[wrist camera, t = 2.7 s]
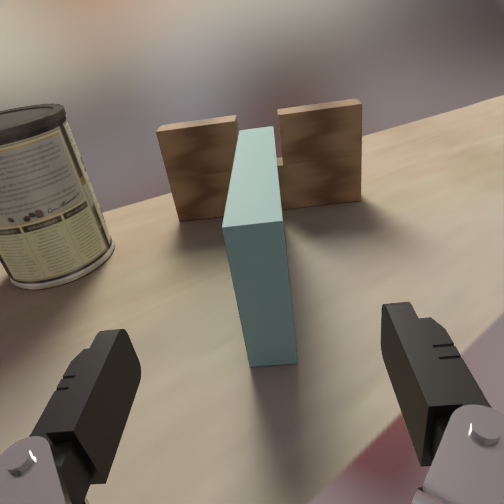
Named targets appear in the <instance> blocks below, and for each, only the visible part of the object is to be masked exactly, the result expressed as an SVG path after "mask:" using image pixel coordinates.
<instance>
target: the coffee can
mask: <svg viewBox="0 0 504 504" xmlns="http://www.w3.org/2000/svg"><path fill="white" fill-rule="evenodd" d="M65 115H66V112H65V109H64V107H63V105H60V104H41V105H33V106H26V107H20V108H15V109H10V110H5V111H0V261H1V263H2V265H3V267H4V268H5V270H6V272H7V273H8V275H9V277H10V281H11V282H12V283H13V284H14V285H15V286H17V287H19V288H23V289H30V290H35V289H45V288H51V287H56V286H59V285H62V284H65V283H69V282H71V281H74V280H76V279H78V278H80V277H82V276H84V275H86V274H88V273H90V272H91V271H93V270H95V269H96V268H98V267H99V266H100V265H101V264H102V263H104V262H105V261H106V260H107V259H108V258H109V257H110V255H111V254H112V252H113V250H114V241H113V239H112V238H111V235H110V233H109V231H108V228H107V225H106V223H105V220H104V217H103V214H102V212H101V209H100V206H99V204H98V201H97V199H96V196H95V194H94V191H93V188H92V186H91V183H90V180H89V178H88V175H87V172H86V169H85V167H84V164H83V162H82V159H81V156H80V154H79V151H78V148H77V146H76V143H75V141H74V138H73V136H72V133H71V130H70V127H69V125H68V122H67V120H66V117H65Z"/></svg>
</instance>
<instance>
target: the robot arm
mask: <svg viewBox="0 0 504 504" xmlns="http://www.w3.org/2000/svg"><path fill="white" fill-rule="evenodd" d="M381 350H382V356H383V360H384V363H385V366H386V369H387V372H388V375H389V377H390V380H391V383H392V386H393V389H394V392H395V394H396V397H397V400H398V403H399V406H400V409H401V412H402V414H403V417H404V420H405V423H406V426H407V429H408V431H409V434H410V437H411V440H412V443H413V446H414V449H415V451H416V454H417V457H418V460H419V463H420V466H431V467H430V470H429V472H428V474H427V477H426V479H425V482H424V484H423V486H422V487H420V488H419V489H418V490H417V492H416V494H415V496H414V498H413V501H412V503H411V504H504V414H502V413H500V412H499V411H497V410H494V409H492V408H491V406H490V404H489V403H488V401H487V400H486V398H485V397H484V395H483V393H482V391H481V389H480V388H479V386H478V384H477V383H476V381H475V379H474V377H473V376H472V374H471V372H470V371H469V369H468V367H467V365H466V364H465V362H464V360H463V359H462V358H461V356H460V353H459V352H458V350H457V348H456V347H455V346H454V343H453V341H452V340H451V338H450V336H449V335H448V333H447V331H446V329H445V328H443V327H442V326H441V325H440V324H438V323H437V322H436V321H435V320H433V319H432V318H431V317H430V318H418V317H417V315H416V313H415V311H414V309H413V307H412V305H411V303H410V302H401V303H390V304H383V305H382V318H381ZM140 379H141V366H140V362H139V360H138V357H137V355H136V352H135V350H134V348H133V345H132V343H131V340H130V338H129V335H128V333H127V332H126V330H124V329H117V330H107V331H100V332H98V334H97V335H96V337H95V339H94V341H93V343H92V345H91V346H90V348H89V349H84V350H83V351H82V352H81V353H80V354H78V355H77V356H76V357H75V358H74V359H73V360H72V361H71V363H70V365H69V366H68V368H67V370H66V372H65V374H64V375H63V379H61V381H60V383H59V384H58V386H57V390H56V391H55V392H54V393H53V395H52V397H51V399H50V401H49V402H48V404H47V406H46V408H45V410H44V411H43V413H42V415H41V417H40V419H39V420H38V422H37V424H36V426H35V428H34V429H33V431H32V433H31V435H30V436H29V437H27V438H25V439H22V440H20V441H18V442H16V443H15V444H13V445H12V446H10V447H9V448H8V449H7V450H5V451H4V452H3V453H2V454H1V456H0V504H89V501H88V499H87V498H86V494H87V492H88V489H89V486H90V484H106V481H107V478H108V475H109V472H110V469H111V466H112V463H113V460H114V457H115V454H116V451H117V448H118V446H119V443H120V440H121V437H122V434H123V431H124V428H125V425H126V422H127V419H128V416H129V413H130V410H131V407H132V404H133V401H134V398H135V395H136V392H137V389H138V386H139V383H140Z"/></svg>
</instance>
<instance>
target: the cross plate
mask: <svg viewBox="0 0 504 504" xmlns="http://www.w3.org/2000/svg"><path fill="white" fill-rule="evenodd" d="M222 231H223V236H224V241H225V246H226V251H227V256H228V261H229V266H230V271H231V276H232V281H233V286H234V291H235V296H236V301H237V305H238V310H239V315H240V320H241V325H242V330H243V335H244V340H245V345H246V350H247V355H248V360H249V365H250V367H258V366H271V365H283V364H296V363H298V361H297V351H296V341H295V332H294V322H293V312H292V302H291V293H290V283H289V274H288V263H287V254H286V244H285V234H284V225H283V215H282V206H281V196H280V187H279V177H278V168H277V158H276V149H275V139H274V130H273V126H270V127H263V128H256V129H248V130H241V131H239V135H238V141H237V146H236V152H235V157H234V163H233V169H232V174H231V180H230V185H229V191H228V196H227V202H226V207H225V213H224V218H223V224H222Z"/></svg>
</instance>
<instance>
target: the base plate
mask: <svg viewBox="0 0 504 504" xmlns="http://www.w3.org/2000/svg"><path fill="white" fill-rule="evenodd" d="M278 121H279V131H280V141H281V151H282V157H280V158H277V168H278V177H279V187H280V196H281V206H282V210H284V209H293V208H301V207H310V206H319V205H328V204H337V203H345V202H354V201H361V156H362V103H361V102H360V101H359V100H358V99H350V100H342V101H335V102H328V103H321V104H313V105H306V106H299V107H292V108H284V109H278ZM156 134H157V138H158V141H159V145H160V149H161V153H162V157H163V161H164V164H165V168H166V172H167V176H168V180H169V183H170V187H171V191H172V195H173V199H174V203H175V206H176V210H177V214H178V218H179V221H187V220H196V219H205V218H214V217H222V216H224V213H225V207H226V202H227V196H228V191H229V185H230V180H231V174H232V169H233V163H234V157H235V152H236V146H237V141H238V135H239V129H238V123H237V116H236V115H233V116H226V117H218V118H211V119H204V120H197V121H189V122H182V123H174V124H167V125H162V126H160V128H159V129H158V130H157V131H156Z"/></svg>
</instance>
